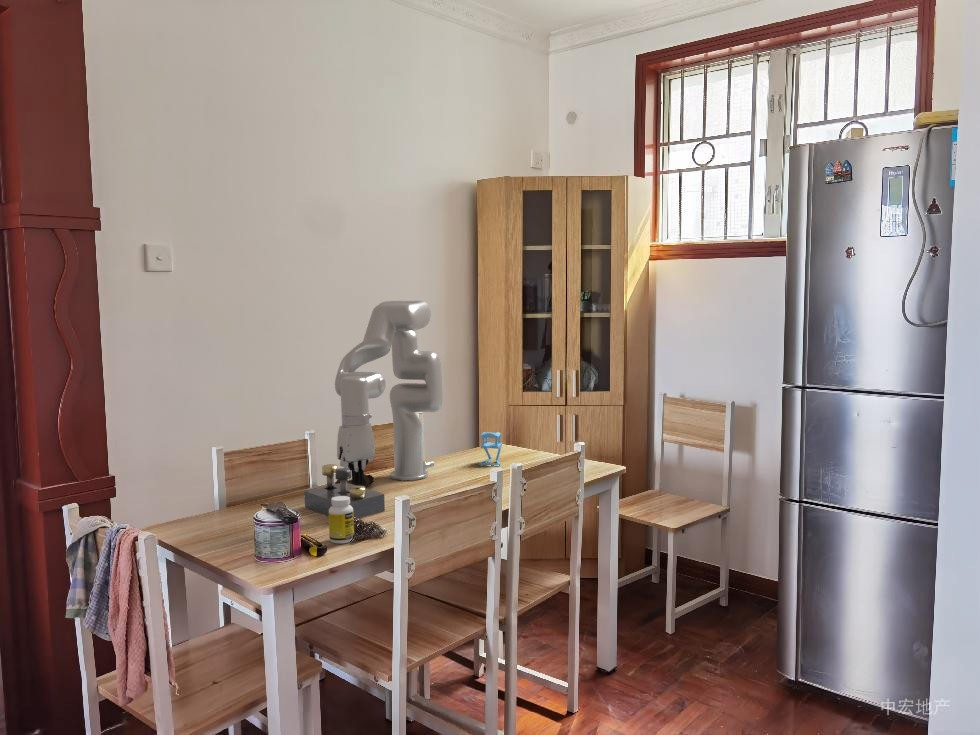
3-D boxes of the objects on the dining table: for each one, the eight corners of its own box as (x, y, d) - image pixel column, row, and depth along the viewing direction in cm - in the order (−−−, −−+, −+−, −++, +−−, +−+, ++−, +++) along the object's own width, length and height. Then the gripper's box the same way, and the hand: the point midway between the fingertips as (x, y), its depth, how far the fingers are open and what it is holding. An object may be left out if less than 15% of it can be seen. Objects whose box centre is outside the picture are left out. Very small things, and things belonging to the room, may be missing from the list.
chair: (504, 461, 288) (504, 429, 287) (499, 466, 280) (499, 433, 279) (483, 461, 290) (483, 428, 289) (478, 466, 282) (477, 432, 281)
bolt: (373, 490, 258) (342, 500, 245) (362, 481, 260) (331, 490, 247) (380, 476, 256) (349, 485, 243) (369, 467, 258) (338, 475, 245)
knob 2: (360, 510, 229) (359, 484, 228) (369, 513, 225) (368, 487, 225) (347, 513, 226) (346, 487, 225) (356, 516, 222) (355, 490, 222)
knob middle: (346, 492, 233) (345, 467, 232) (354, 495, 230) (353, 469, 229) (333, 495, 230) (332, 469, 229) (341, 498, 227) (340, 472, 226)
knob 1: (332, 488, 238) (332, 463, 237) (341, 490, 235) (340, 465, 234) (320, 490, 235) (319, 466, 234) (328, 493, 232) (327, 468, 231)
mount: (345, 498, 242) (344, 482, 242) (384, 511, 228) (384, 494, 228) (305, 507, 233) (304, 490, 232) (343, 521, 219) (342, 504, 218)
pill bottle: (349, 544, 199) (347, 501, 198) (325, 543, 200) (324, 501, 199) (357, 537, 205) (356, 495, 204) (334, 536, 207) (333, 494, 205)
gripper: (369, 414, 230) (372, 476, 233) (325, 422, 220) (328, 486, 223) (385, 417, 225) (387, 481, 228) (340, 426, 215) (343, 492, 217)
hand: (358, 483), depth 225 cm, fingers closed
